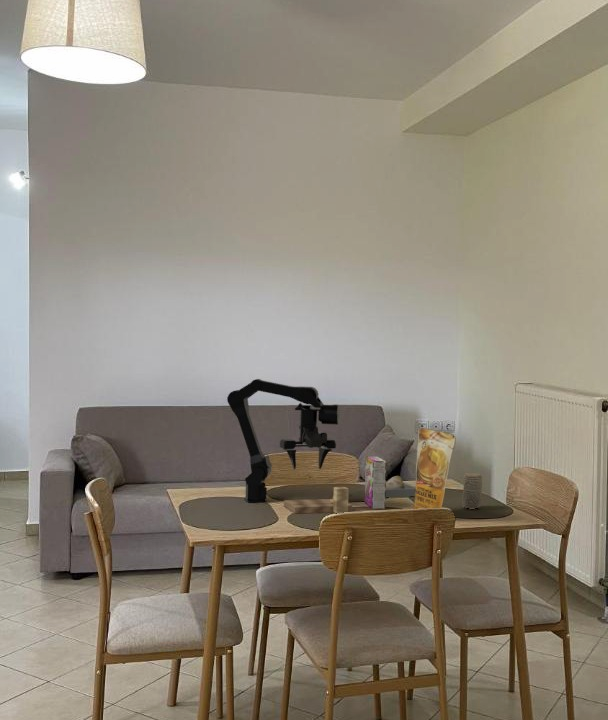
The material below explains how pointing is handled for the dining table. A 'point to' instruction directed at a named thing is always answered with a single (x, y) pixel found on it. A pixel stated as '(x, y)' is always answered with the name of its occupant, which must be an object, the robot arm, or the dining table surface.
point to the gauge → (340, 499)
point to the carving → (472, 490)
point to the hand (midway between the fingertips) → (307, 468)
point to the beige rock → (395, 483)
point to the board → (310, 506)
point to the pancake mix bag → (432, 466)
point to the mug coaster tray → (401, 491)
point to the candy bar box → (375, 482)
